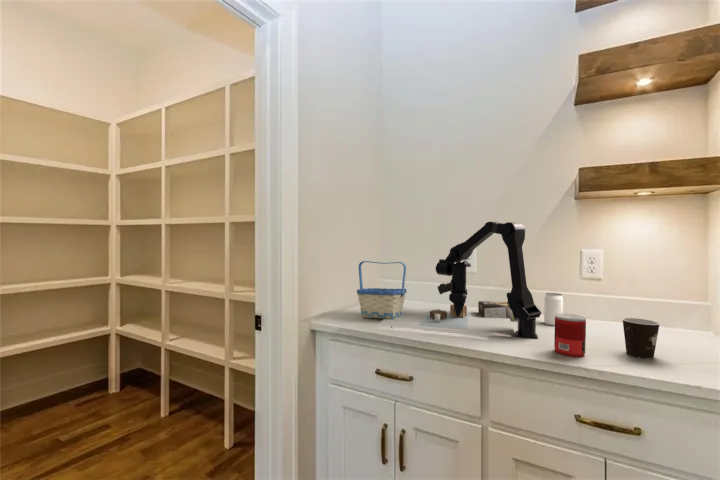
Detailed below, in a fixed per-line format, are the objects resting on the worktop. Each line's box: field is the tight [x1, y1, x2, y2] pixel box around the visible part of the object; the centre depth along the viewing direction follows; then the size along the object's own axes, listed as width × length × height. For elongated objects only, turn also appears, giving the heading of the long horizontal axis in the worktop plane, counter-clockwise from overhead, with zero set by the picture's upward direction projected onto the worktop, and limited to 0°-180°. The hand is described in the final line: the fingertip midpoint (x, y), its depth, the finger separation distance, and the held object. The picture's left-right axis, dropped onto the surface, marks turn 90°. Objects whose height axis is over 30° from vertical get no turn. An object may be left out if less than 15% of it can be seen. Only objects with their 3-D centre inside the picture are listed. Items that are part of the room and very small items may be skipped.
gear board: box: [418, 311, 469, 330], centre depth 143 cm, size 24×17×4 cm
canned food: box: [553, 313, 587, 358], centre depth 107 cm, size 8×8×11 cm
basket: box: [356, 260, 407, 320], centre depth 151 cm, size 21×16×24 cm
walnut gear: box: [429, 308, 448, 320], centre depth 146 cm, size 7×7×3 cm
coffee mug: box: [622, 317, 660, 359], centre depth 106 cm, size 12×9×10 cm
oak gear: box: [449, 303, 468, 317], centre depth 149 cm, size 6×6×4 cm
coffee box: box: [477, 300, 518, 322], centre depth 152 cm, size 9×6×16 cm
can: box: [543, 292, 564, 327], centre depth 143 cm, size 6×6×12 cm
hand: (458, 314), depth 149 cm, fingers closed on oak gear, 6 cm apart
